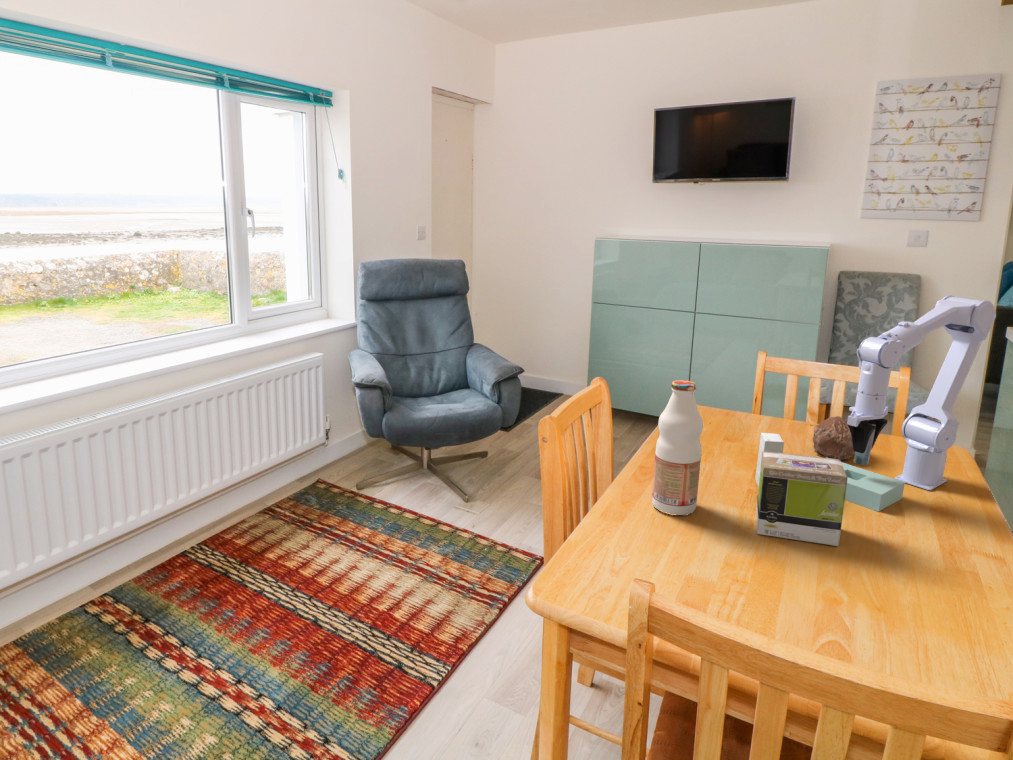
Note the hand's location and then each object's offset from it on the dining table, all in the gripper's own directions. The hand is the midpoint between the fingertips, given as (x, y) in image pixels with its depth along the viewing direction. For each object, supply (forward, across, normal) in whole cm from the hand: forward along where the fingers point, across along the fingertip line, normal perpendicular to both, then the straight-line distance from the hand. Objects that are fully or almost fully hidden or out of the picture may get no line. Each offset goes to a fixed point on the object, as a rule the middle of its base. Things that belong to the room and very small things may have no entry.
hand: (862, 450), depth 148 cm
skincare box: (+11, +13, -14) cm, 22 cm away
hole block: (+10, 0, -1) cm, 10 cm away
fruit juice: (+11, +40, -20) cm, 46 cm away
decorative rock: (+11, -19, -15) cm, 27 cm away
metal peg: (+3, 0, 0) cm, 3 cm away
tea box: (+11, +28, +1) cm, 30 cm away
